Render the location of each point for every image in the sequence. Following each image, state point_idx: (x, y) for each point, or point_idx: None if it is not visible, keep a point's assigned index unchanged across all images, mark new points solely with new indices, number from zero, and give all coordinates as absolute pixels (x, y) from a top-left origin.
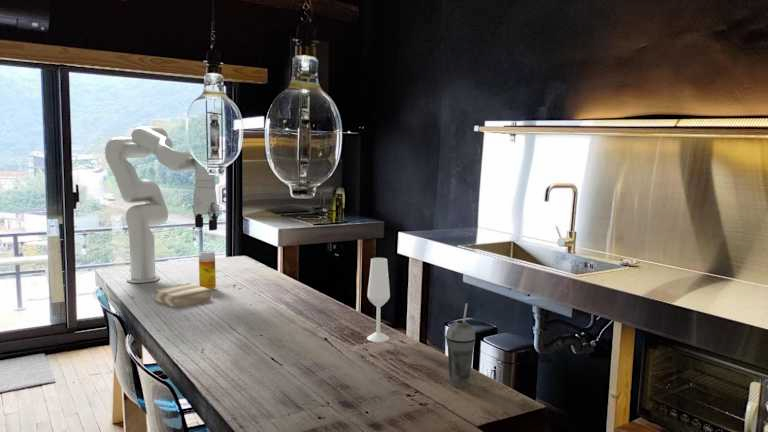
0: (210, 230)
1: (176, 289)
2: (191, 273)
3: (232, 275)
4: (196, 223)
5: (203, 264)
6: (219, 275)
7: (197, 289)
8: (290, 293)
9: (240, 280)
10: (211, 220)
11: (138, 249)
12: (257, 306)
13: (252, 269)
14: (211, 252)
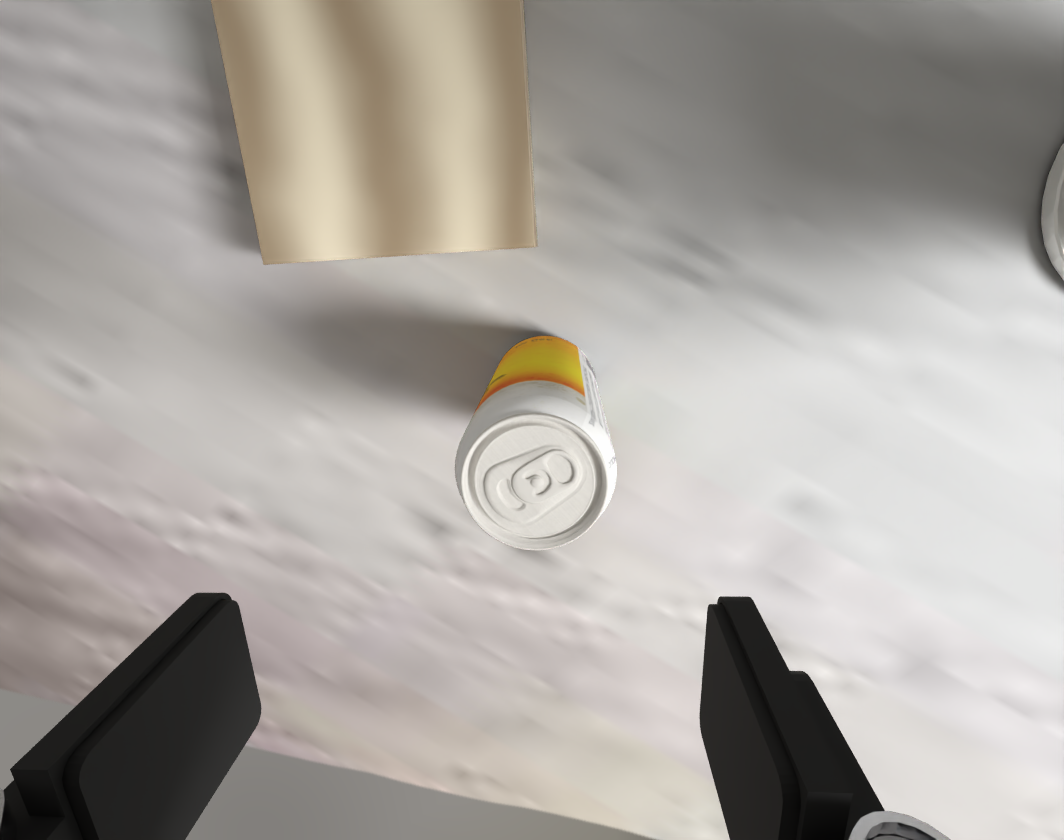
0: (207, 600)
1: (406, 62)
2: (1019, 532)
3: None
4: (730, 660)
5: (497, 385)
6: (813, 617)
7: (309, 190)
8: None
9: (604, 628)
10: (35, 802)
11: None
12: (22, 380)
13: None
14: (501, 514)
